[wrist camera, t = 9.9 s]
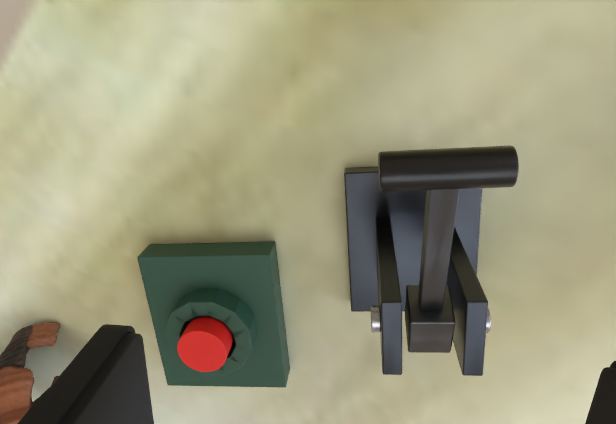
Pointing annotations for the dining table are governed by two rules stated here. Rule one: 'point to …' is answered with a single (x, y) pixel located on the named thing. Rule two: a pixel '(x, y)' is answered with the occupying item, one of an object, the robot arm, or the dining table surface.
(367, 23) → the dining table surface
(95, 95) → the dining table surface
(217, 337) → the red push button
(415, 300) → the switch lever
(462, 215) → the switch bracket
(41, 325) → the miniature brown house
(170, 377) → the button block
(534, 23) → the dining table surface
